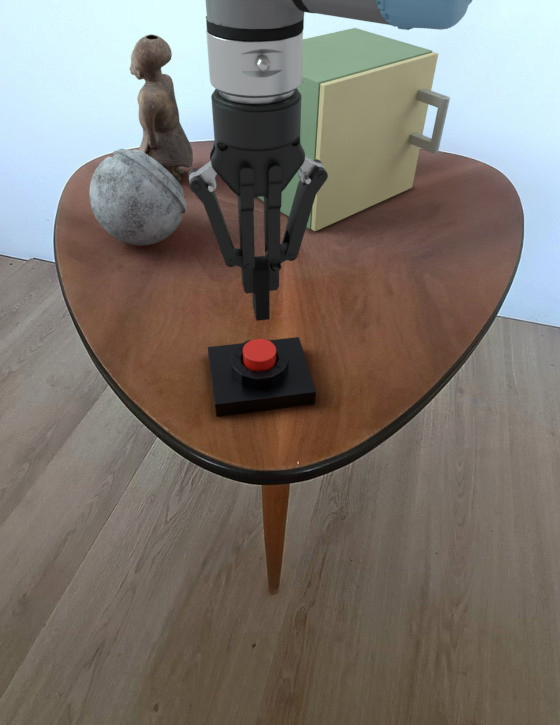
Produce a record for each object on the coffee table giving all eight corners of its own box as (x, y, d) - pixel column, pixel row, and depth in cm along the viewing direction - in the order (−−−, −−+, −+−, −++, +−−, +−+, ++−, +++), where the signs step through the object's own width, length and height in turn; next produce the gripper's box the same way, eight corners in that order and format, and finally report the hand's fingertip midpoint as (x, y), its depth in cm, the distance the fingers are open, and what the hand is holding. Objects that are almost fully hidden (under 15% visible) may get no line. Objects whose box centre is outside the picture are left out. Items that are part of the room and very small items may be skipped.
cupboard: (407, 186, 108) (432, 50, 92) (309, 229, 96) (319, 82, 79) (342, 155, 118) (354, 27, 101) (246, 191, 106) (242, 52, 89)
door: (436, 199, 105) (467, 61, 88) (338, 246, 92) (354, 96, 76) (408, 185, 108) (433, 51, 92) (310, 229, 96) (320, 83, 79)
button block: (298, 349, 74) (299, 326, 71) (315, 404, 67) (317, 381, 64) (208, 359, 72) (206, 336, 70) (216, 416, 65) (214, 393, 63)
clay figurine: (153, 162, 114) (132, 24, 97) (200, 164, 114) (188, 26, 96) (135, 191, 105) (109, 44, 87) (187, 195, 104) (171, 47, 87)
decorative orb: (206, 238, 94) (198, 151, 83) (137, 274, 86) (119, 183, 75) (151, 208, 100) (137, 124, 90) (82, 239, 93) (59, 151, 82)
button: (273, 347, 69) (273, 336, 68) (278, 369, 66) (278, 359, 65) (241, 351, 68) (240, 340, 67) (245, 373, 66) (245, 363, 64)
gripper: (179, 109, 42) (205, 341, 58) (344, 99, 44) (325, 327, 60) (174, 77, 47) (200, 298, 64) (322, 70, 49) (310, 287, 65)
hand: (261, 312), depth 62 cm, fingers closed
